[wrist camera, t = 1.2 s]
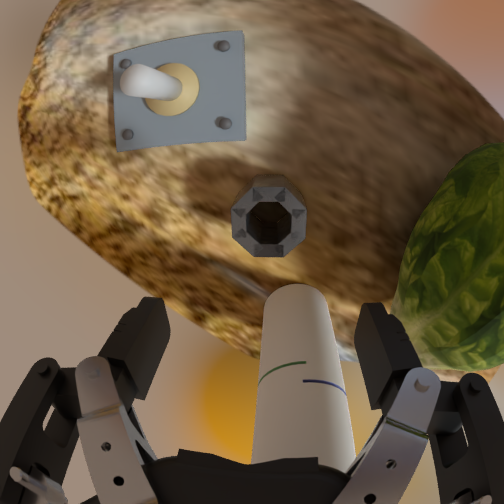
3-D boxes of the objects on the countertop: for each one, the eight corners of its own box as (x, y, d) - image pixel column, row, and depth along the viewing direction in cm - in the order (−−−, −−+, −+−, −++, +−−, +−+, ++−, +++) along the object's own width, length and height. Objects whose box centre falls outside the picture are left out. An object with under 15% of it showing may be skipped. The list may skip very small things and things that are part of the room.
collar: (301, 175, 24) (307, 187, 19) (299, 233, 26) (304, 257, 22) (238, 174, 24) (229, 187, 20) (240, 232, 27) (233, 256, 22)
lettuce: (324, 270, 28) (366, 434, 15) (456, 84, 15) (619, 177, 2) (416, 305, 33) (459, 413, 20) (519, 180, 20) (603, 271, 7)
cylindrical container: (317, 336, 32) (335, 547, 9) (259, 329, 32) (236, 550, 9) (335, 288, 28) (386, 539, 6) (269, 279, 29) (249, 554, 6)
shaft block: (244, 35, 18) (229, -4, 11) (246, 139, 23) (232, 147, 15) (121, 56, 19) (67, 42, 12) (124, 150, 24) (70, 166, 16)
